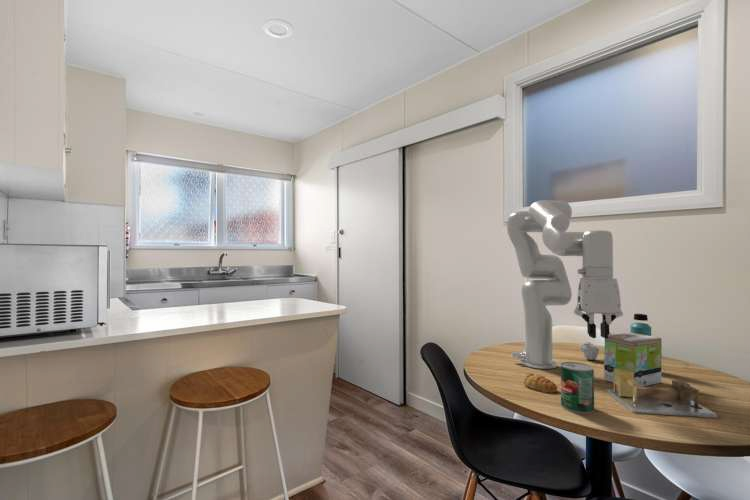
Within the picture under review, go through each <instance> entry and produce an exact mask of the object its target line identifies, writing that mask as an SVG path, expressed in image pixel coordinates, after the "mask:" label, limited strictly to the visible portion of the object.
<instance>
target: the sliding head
mask: <svg viewBox="0 0 750 500" xmlns="http://www.w3.org/2000/svg"><path fill="white" fill-rule="evenodd" d="M616 385H617V386H619V396H626V397H633V402H636V403H637V387H638V382H636V381H634V372H632V371H630V370H629V369H621V368H614V383H613V390H614V392H616Z"/></svg>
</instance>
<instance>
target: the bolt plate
mask: <svg viewBox="0 0 750 500" xmlns="http://www.w3.org/2000/svg"><path fill="white" fill-rule="evenodd" d="M607 394H608V395H609V396H611V397H612V398H614V400H616V401H617V402H619V403H620V404H621V405H623V407H625V408H627V410H629V412H630V411H631V412H632V413H635V414H636V413H637V414H638V413H639V414H650V415H666V416H667V415H668V416H680V417H681V416H683V417H695V418H696V417H697V418H711V419H713V418H714V419H717V418H718V415H717V413H716V412H714V411H712V410H710V409H709V408H707V407H705V406H703V405H701V404H699V403H698V407H694V400H692V399H691V401H680V400H677V399H660V398H643V397H637V403H636V402H633V397H626V396H619V395H618V394H616V392H614V389H607Z"/></svg>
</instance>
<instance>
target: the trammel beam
mask: <svg viewBox="0 0 750 500" xmlns="http://www.w3.org/2000/svg"><path fill="white" fill-rule="evenodd" d="M691 393H693V401H694V407H698V404H699V393H700V390H699V389H697V388H695V387H693V386H692V385H691V384H689V383H687V382H685V381H683V380H679V379H678V380H677V379H676V380H675V379H674V380H671V388H670V387H656V386H655V387H654V386H653V387H652V386H643V387H641V386H638V387H637V397H643V398H660V399H677V400H680V401H691V400H692V398H691V397H692V396H691ZM616 394H618V395H619V386H617V385H616Z"/></svg>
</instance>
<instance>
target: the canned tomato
mask: <svg viewBox="0 0 750 500" xmlns="http://www.w3.org/2000/svg"><path fill="white" fill-rule="evenodd" d="M559 366H560V406H561V407H562V408H563V409H565V410H567V411H569V412H571V413H577V414H587V415H588V414H592V413H595V368H594V366H591V365H590V364H586V363H582V362H576V361H575V362H574V361H562V362H561V363H560V364H559Z"/></svg>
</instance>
